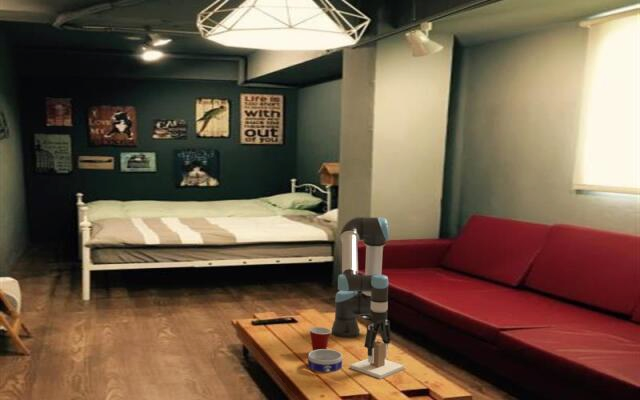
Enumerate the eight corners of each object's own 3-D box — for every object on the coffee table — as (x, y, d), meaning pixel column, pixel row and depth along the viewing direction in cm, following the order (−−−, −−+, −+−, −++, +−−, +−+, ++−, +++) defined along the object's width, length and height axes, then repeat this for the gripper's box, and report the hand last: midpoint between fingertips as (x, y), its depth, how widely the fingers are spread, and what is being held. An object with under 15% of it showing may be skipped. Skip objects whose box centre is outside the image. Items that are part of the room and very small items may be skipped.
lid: (374, 359, 270) (375, 334, 269) (404, 368, 258) (404, 343, 257) (350, 368, 258) (351, 342, 257) (380, 378, 246) (381, 352, 245)
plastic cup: (334, 356, 274) (334, 331, 273) (312, 358, 271) (313, 333, 270) (326, 349, 284) (327, 325, 283) (305, 351, 281) (306, 326, 280)
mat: (374, 359, 271) (374, 358, 271) (405, 370, 258) (405, 368, 258) (348, 369, 258) (348, 368, 258) (380, 380, 245) (380, 379, 245)
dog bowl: (316, 376, 250) (316, 362, 249) (302, 364, 264) (303, 351, 263) (347, 371, 256) (348, 358, 256) (333, 359, 270) (333, 347, 270)
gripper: (387, 304, 266) (385, 352, 268) (356, 312, 251) (355, 363, 253) (400, 307, 261) (398, 356, 263) (370, 316, 246) (368, 368, 247)
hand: (377, 359), depth 258 cm, fingers open, 9 cm apart
